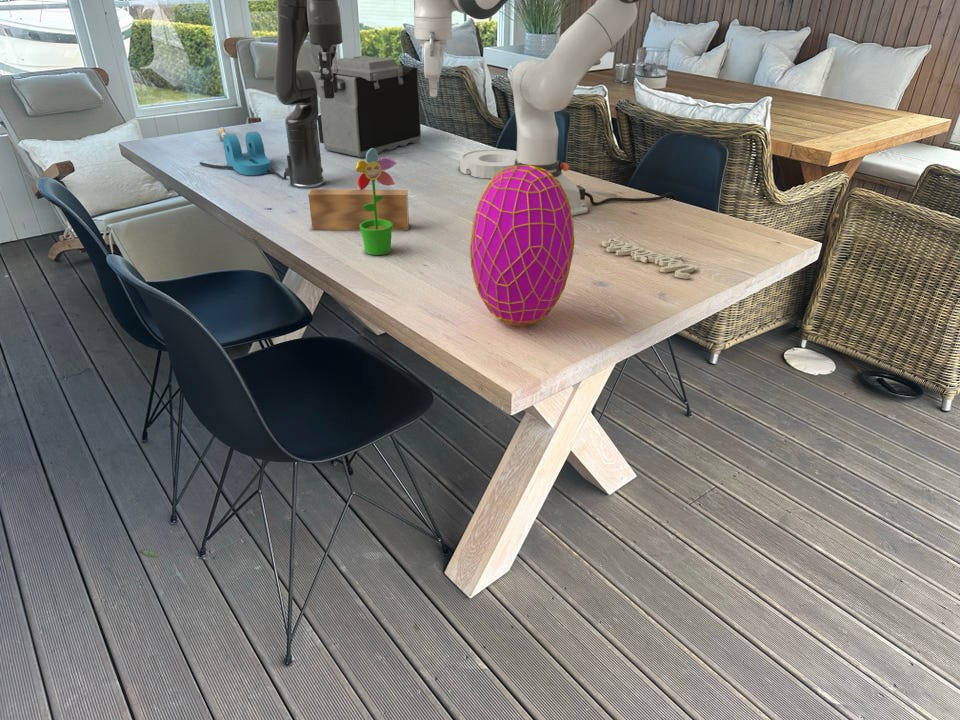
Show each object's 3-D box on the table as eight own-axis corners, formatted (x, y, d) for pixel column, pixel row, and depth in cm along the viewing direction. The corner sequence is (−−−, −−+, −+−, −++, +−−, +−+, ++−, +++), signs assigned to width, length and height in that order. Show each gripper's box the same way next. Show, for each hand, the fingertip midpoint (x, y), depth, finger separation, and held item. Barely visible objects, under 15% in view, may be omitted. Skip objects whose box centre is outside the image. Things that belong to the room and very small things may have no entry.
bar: (312, 229, 179) (308, 194, 174) (315, 224, 183) (311, 189, 178) (407, 230, 180) (406, 194, 175) (409, 224, 184) (407, 189, 179)
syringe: (218, 132, 274) (216, 125, 272) (227, 131, 275) (226, 124, 274) (222, 147, 254) (220, 139, 252) (232, 146, 255) (231, 138, 254)
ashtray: (461, 159, 242) (461, 148, 240) (527, 160, 241) (527, 149, 239) (457, 177, 222) (457, 165, 220) (529, 179, 221) (529, 166, 219)
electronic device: (383, 133, 276) (378, 52, 261) (425, 141, 265) (422, 56, 250) (314, 150, 251) (304, 61, 235) (358, 160, 240) (350, 67, 224)
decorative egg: (525, 353, 124) (534, 190, 109) (449, 319, 135) (447, 167, 120) (586, 318, 136) (602, 167, 121) (512, 290, 148) (517, 148, 132)
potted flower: (366, 259, 162) (357, 151, 149) (355, 248, 168) (346, 144, 155) (403, 252, 166) (398, 147, 153) (391, 242, 172) (385, 139, 159)
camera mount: (227, 164, 233) (221, 132, 227) (257, 160, 238) (252, 129, 233) (244, 176, 220) (239, 143, 215) (276, 172, 225) (271, 139, 220)
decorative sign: (710, 264, 159) (686, 276, 153) (709, 268, 159) (685, 280, 153) (618, 234, 175) (593, 244, 169) (618, 238, 176) (593, 247, 170)
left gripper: (337, 23, 154) (344, 100, 162) (343, 19, 166) (349, 90, 174) (303, 24, 153) (312, 100, 161) (312, 19, 165) (319, 90, 174)
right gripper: (445, 35, 152) (446, 100, 159) (447, 26, 170) (448, 86, 177) (416, 34, 152) (419, 100, 159) (422, 26, 170) (423, 85, 177)
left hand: (331, 95), depth 168 cm, fingers open, 8 cm apart
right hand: (434, 92), depth 168 cm, fingers open, 8 cm apart
